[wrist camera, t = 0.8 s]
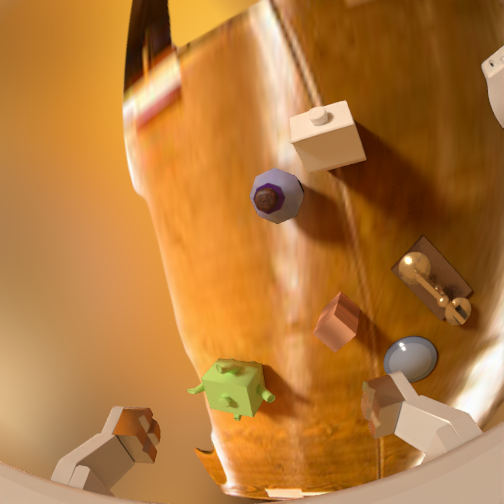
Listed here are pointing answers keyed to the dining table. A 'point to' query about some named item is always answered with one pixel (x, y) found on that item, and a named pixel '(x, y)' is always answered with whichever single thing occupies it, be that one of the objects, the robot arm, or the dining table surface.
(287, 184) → the potion bottle
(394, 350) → the gray dish
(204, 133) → the dining table surface
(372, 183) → the dining table surface
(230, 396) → the kettle
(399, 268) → the brass balance
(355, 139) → the milk carton
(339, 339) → the terracotta block
